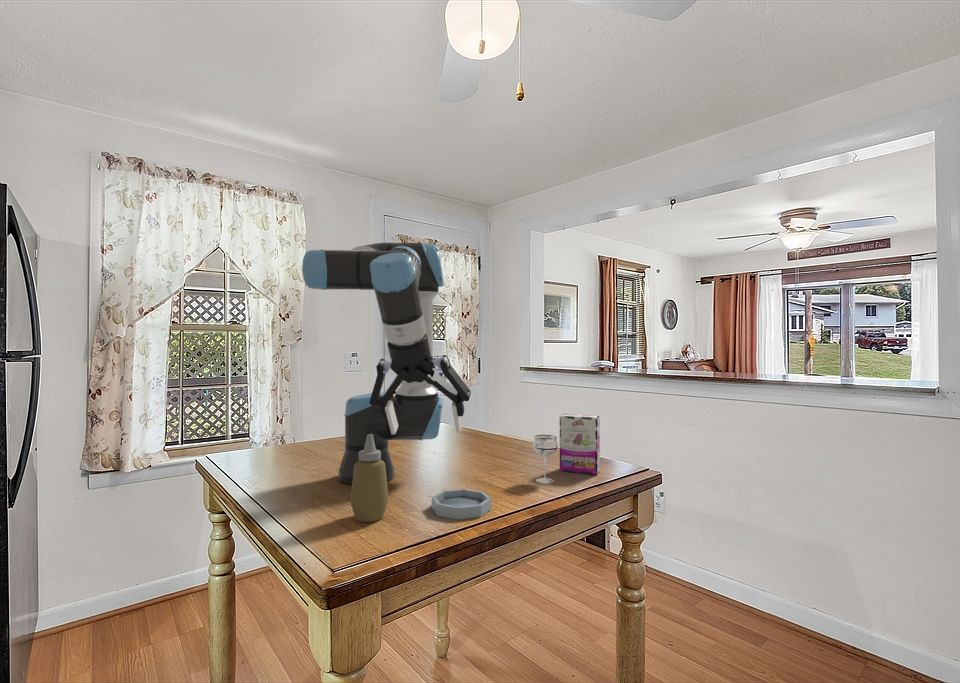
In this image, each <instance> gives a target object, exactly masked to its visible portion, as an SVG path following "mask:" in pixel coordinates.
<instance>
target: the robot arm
mask: <svg viewBox="0 0 960 683" xmlns="http://www.w3.org/2000/svg"><path fill="white" fill-rule="evenodd" d="M441 261H442V260H441V253H440V248H439V246H438V245H436V244H434V243H425V242H376V243H371V244H365V245H359V246H355V247H353V248H352V249H337V250H336V249H334V250H333V249H316V250H315V249H313V250H311V249H310V250H307V251H306V252H305V253H304V255H303V258H302V265H301V266H302V271H301V272H302V278H303V281H304V284H305V286H307V288H309V289H313V290H322V291H325V290H363V291H365V290H366V291H369V290H370V291H371V290H372V291H374V293H375V297H376V301H377V306H378V310H379V314H380V318H381V322H382V327H383V331H384V335H385V340H386V341H387V348H388V353H389V356H390V359H391V361H388V360H386V359H385V358H380V360H379V361H378V363H377V365H376V366H375V367H376V368H375V369H376V378H375V380H374V381H375V382H374V385H373V389H372V392H371V393H364V394H359V395H355V396H351V397H350V398H348V399H347V400H346V402H345V413H344V421H345V422H344V430H345V431H344V432H345V434H344V437H345V438H344V439H345V440H344V441H345V442H344V446H345V447H344V454H343V456H342V460H341V463H340V467H339V469H338V474H337V475H338V476H337V477H338V481H339V482H340V483H342V484H344V485H350V486H352V481H353V472H354V464H355V463H356V462H358V461H360V460H359V452H360V451H362V450H364V447H365V442H366V438H367V435H368V434H372V435H373V438H374V443H375V448H376V450H380V451H381V459H380V460H382V461H383V462H384V463H385V468H386V478H387V482H389V481H391V480H393V479H394V478H395V467H394V465H393V459H392V457H391V454H390V453H391V452H390V451H389V441H403V440H404V441H407V440H408V441H411V440H413V441H419V440H420V441H423V440H435V439H436V438H437V437H438V436H439V432H440V425H441V418H442V412H443V411H442V410H443V404H444V398H443V397H441V396H439V391H440V392H441V393H442V394H443V395H444V396H445V397H447V398H448V399H449V400H451V401H452V402H451V410H452V416H453V422H454V426H455V432H456V433H461V431H462V426H463V422H462V417H464V413H465V404H464V402H469V401H470V398H471V394H472V391H471V389H470V388H469V386H467V384H466V383H465V381H464V380H463V379H462V377H461V376H460V375H459V373H458V372H457V371H456V370H455V368H454V367H453V365H452V364H451V362H450V359H449V356H448V355H447V354H443V355H442V356H441V357H439V358H433V352H434V350H433V349H434V348H433V344H434V343H433V342H434V340H433V338H434V332H433V331H434V330H433V328H434V327H433V325H434V324H433V323H434V322H433V321H434V320H433V318H434V316H433V315H434V309H433V308H434V307H433V306H434V303H433V302H434V299H435V297H437V296H438V294H439V288H441V287H442V288H443V287H444V276H443V268H442V262H441ZM434 367H437V368H438V370H439V371H441V372H442V373H443V375H444V377H445V378H446V379H447V380H446V379H445V378H443V377H442V376H441V375H440V374H439V373H438V371H437V369H435V368H434ZM390 369H391V370H392V371H393V372H394V373H395V375H396V376H395V378H394V379H393V381H392V382H391V384H390V385H389V387H388V388H387V389H386V391H382V387H383V384H384V381H385V378H386V375H387V374H388V372H389V371H390ZM394 394H395V397H392V396H393V395H394Z"/></svg>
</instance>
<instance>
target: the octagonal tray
mask: <svg viewBox="0 0 960 683" xmlns="http://www.w3.org/2000/svg"><path fill="white" fill-rule="evenodd" d="M431 509H432V511H433V512H434V513H435V514H436V515H435V516H437V517H443V518H447V519H451V520H453V519H454V520H458V521H459V520H467V519H468V518H469V519H477V518H482V517H483V516H485V515H486V514H487V513H489V512H490V511H491V510H492V498H491V497H490V496H489V495H488V494H487V493H485V492H484V491H481V490H475V489H474V490H473V489H469V488H457V489H449V490H447V489H446V490H442V491H441V492H439V493H437V494H435V495H433V496H431ZM488 511H489V512H488Z"/></svg>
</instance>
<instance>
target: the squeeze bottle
mask: <svg viewBox="0 0 960 683" xmlns="http://www.w3.org/2000/svg"><path fill="white" fill-rule="evenodd" d="M380 459H381V451H380V450H376V448H375V443H374V438H373V435H372V434H368V435H367V438H366V442H365V447H364V450H362V451H360V452H359V460H360V461H358V462H356V463H355V464H354V472H353V481H352V485H351V494H350V501H349V504H350V506H351V509H352V512H353V514H354V515H353V516H354V518H355V520H356V521H358V522H362V523H372V522H377V521H380V520H382V519H383V518H384V515H385V512H386V509H387V507H388V504H389V490H388V489H389V488H388V481H387V478H386V468H385V463H384V462H383V461H382V460H380Z"/></svg>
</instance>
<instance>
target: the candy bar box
mask: <svg viewBox="0 0 960 683" xmlns="http://www.w3.org/2000/svg"><path fill="white" fill-rule="evenodd" d="M600 420H601V419H600V415H592V414H591V415H588V414H567V413H563V414H562V415H560V416H559V472H566V473H575V474H587V475H598V474H599V472H600V471H601V460H600V459H601V455H600V454H601V450H600V448H601V446H600V445H601V440H600V439H601V438H600V437H601V432H600V431H601V428H600V426H601V422H600Z"/></svg>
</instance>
